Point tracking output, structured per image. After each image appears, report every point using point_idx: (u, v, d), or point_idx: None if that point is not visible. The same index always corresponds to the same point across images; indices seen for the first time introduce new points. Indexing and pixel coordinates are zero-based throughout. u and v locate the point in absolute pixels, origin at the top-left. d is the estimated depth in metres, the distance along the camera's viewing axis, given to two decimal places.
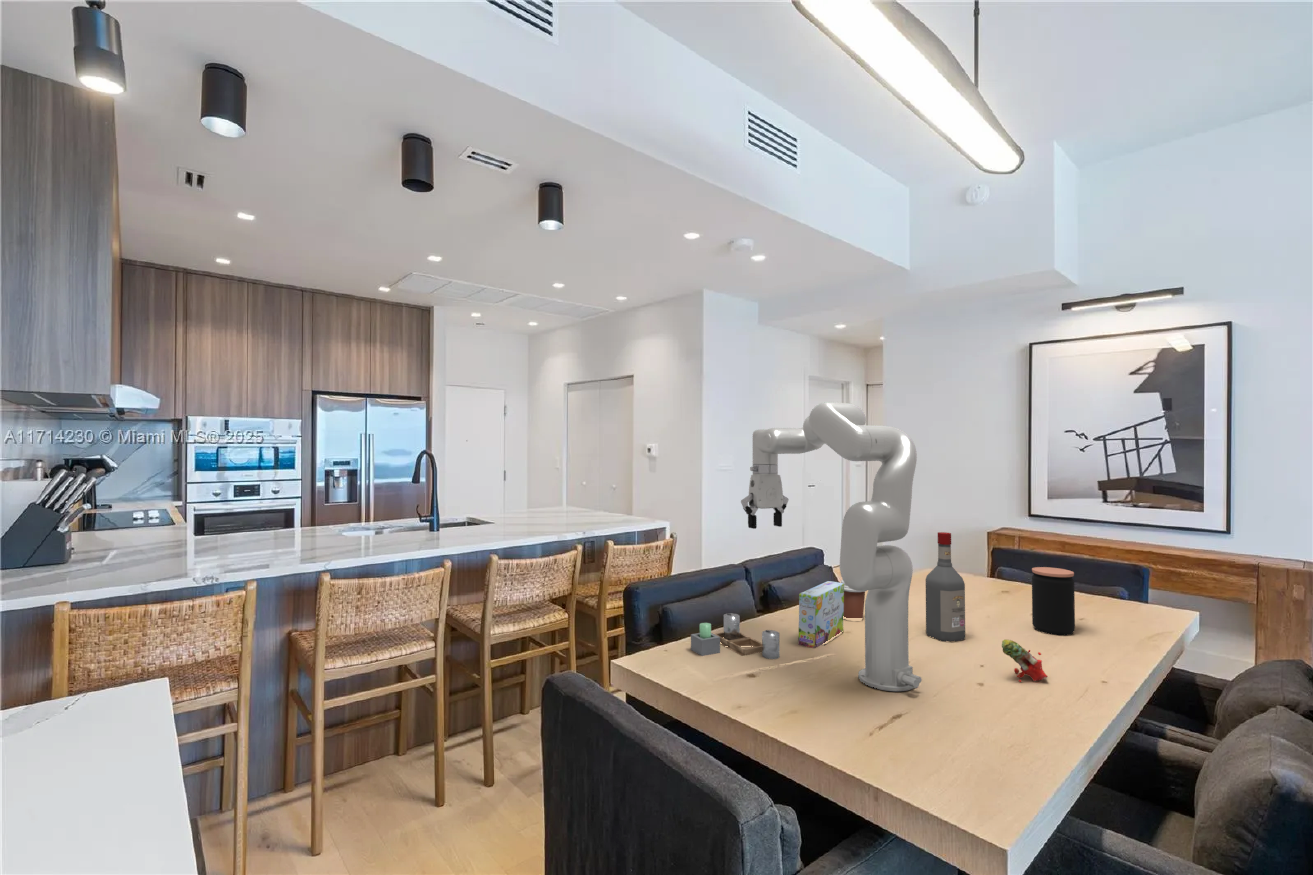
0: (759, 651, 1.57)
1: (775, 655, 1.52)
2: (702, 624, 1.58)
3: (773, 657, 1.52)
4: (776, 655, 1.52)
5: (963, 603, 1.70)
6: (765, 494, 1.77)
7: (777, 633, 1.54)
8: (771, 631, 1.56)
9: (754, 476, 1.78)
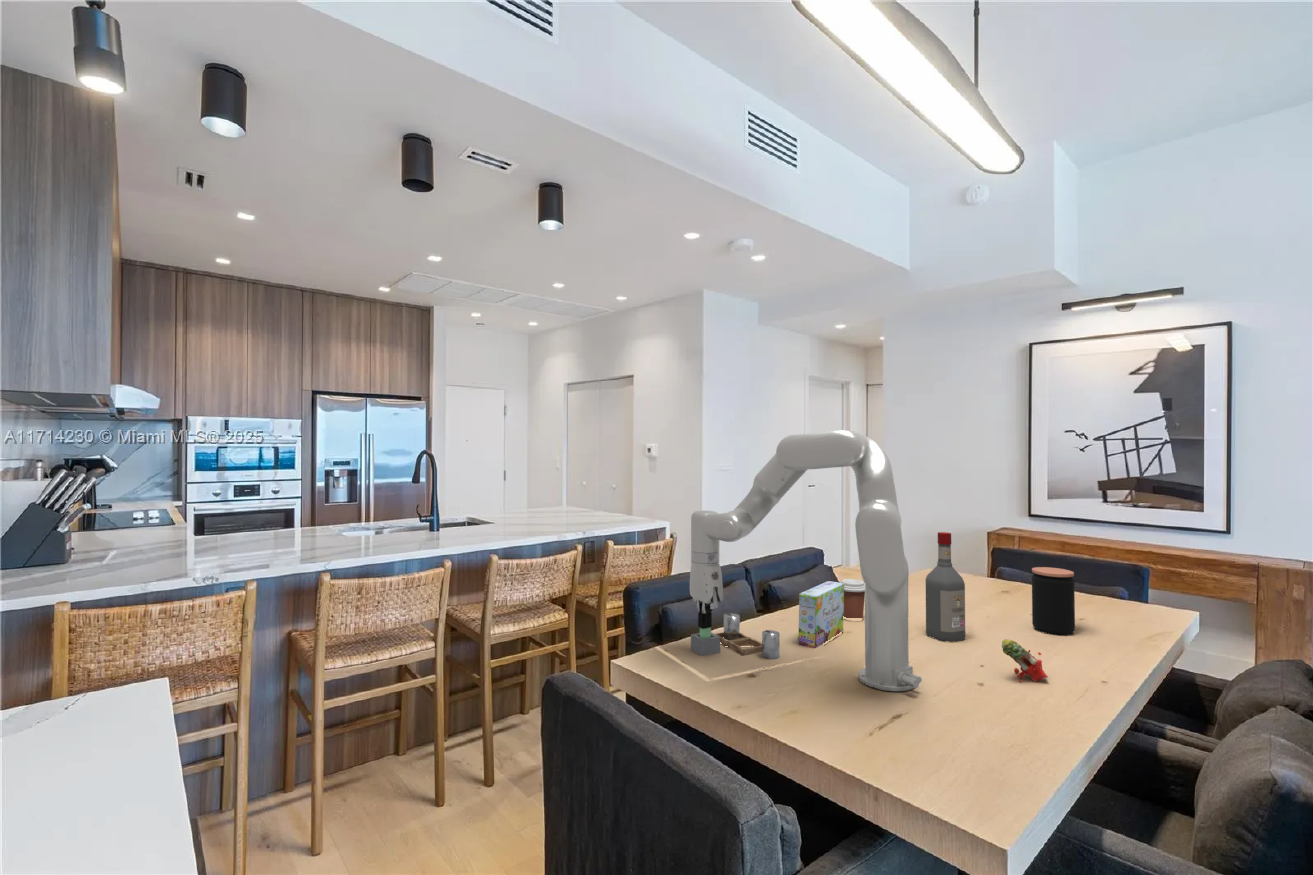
0: (759, 651, 1.57)
1: (775, 655, 1.52)
2: None
3: (773, 657, 1.52)
4: (776, 655, 1.52)
5: (963, 603, 1.70)
6: None
7: (777, 633, 1.54)
8: (771, 631, 1.56)
9: (716, 567, 1.55)
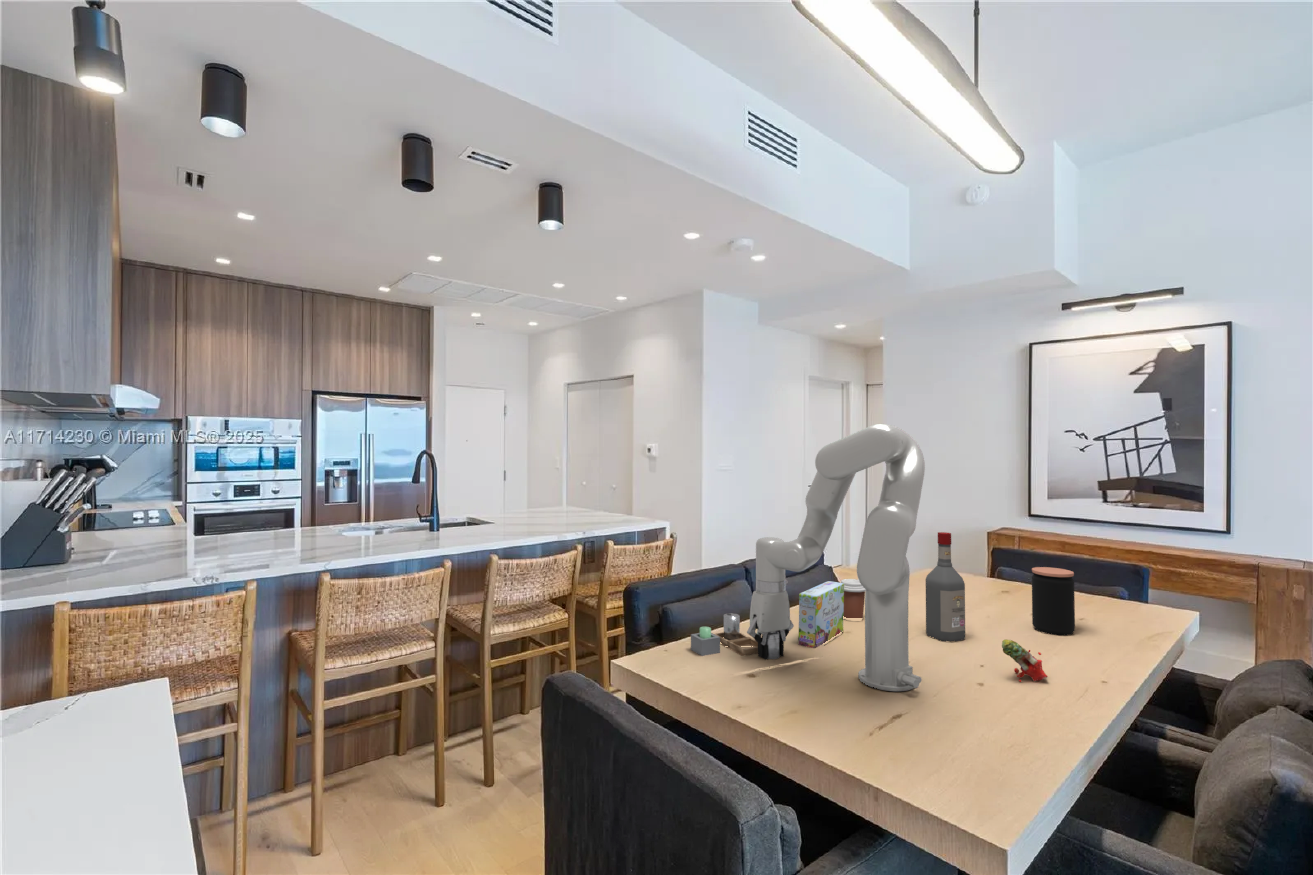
0: None
1: (775, 655, 1.52)
2: (702, 628, 1.58)
3: (773, 657, 1.52)
4: (776, 655, 1.52)
5: (963, 603, 1.70)
6: None
7: (777, 633, 1.54)
8: None
9: None
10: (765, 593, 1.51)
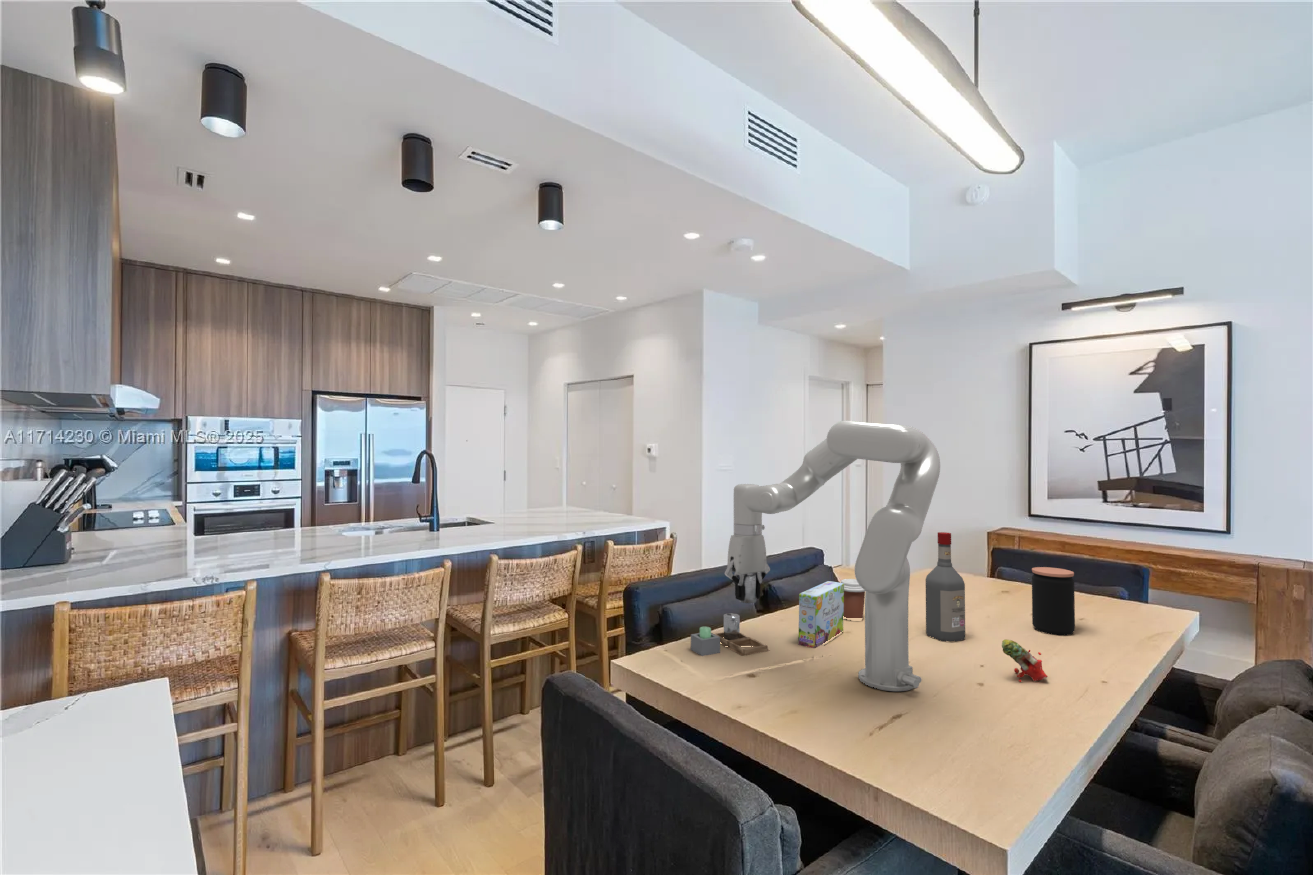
0: (759, 651, 1.57)
1: (751, 596, 1.58)
2: (702, 628, 1.58)
3: (749, 597, 1.58)
4: (753, 595, 1.58)
5: (963, 603, 1.70)
6: None
7: (754, 575, 1.60)
8: (748, 574, 1.61)
9: None
10: (742, 536, 1.57)
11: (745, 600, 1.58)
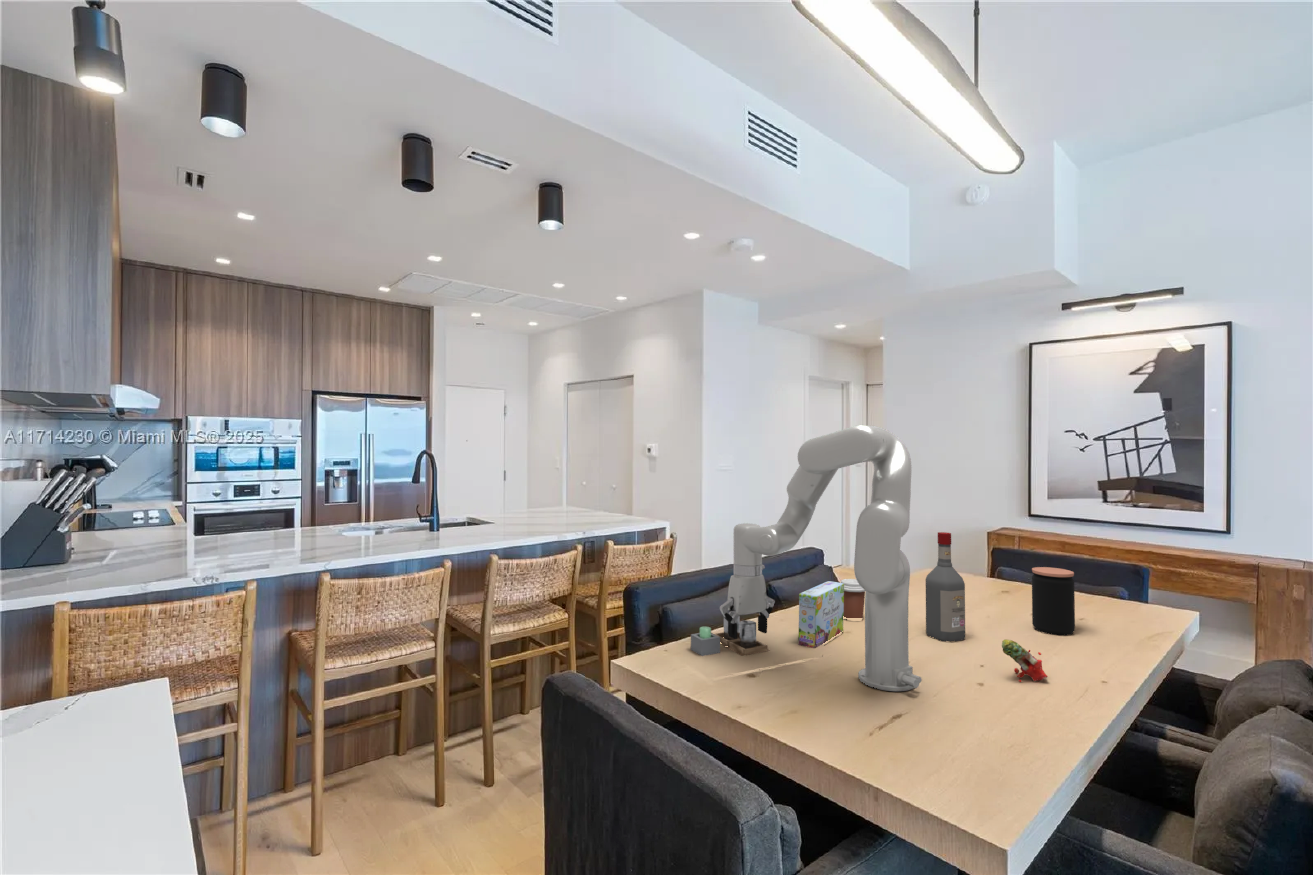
0: (759, 651, 1.57)
1: (752, 644, 1.58)
2: (702, 628, 1.58)
3: (750, 646, 1.57)
4: (753, 644, 1.58)
5: (963, 603, 1.70)
6: None
7: (754, 623, 1.59)
8: (748, 621, 1.61)
9: None
10: (742, 577, 1.57)
11: (745, 648, 1.58)
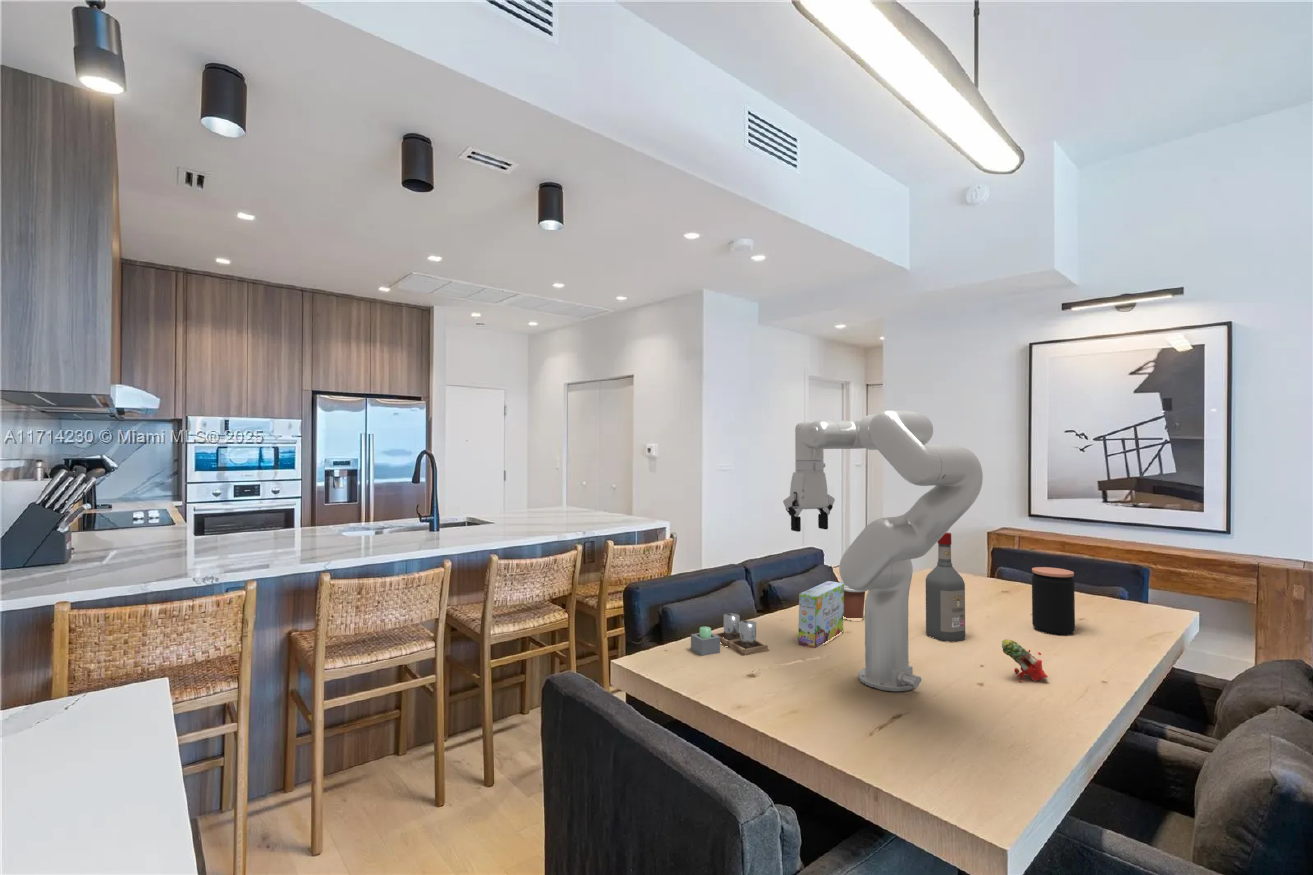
0: (759, 651, 1.57)
1: (752, 644, 1.58)
2: (702, 628, 1.58)
3: (750, 646, 1.57)
4: (753, 644, 1.58)
5: (963, 603, 1.70)
6: None
7: (754, 623, 1.59)
8: (748, 621, 1.61)
9: None
10: (805, 471, 1.61)
11: (745, 648, 1.58)
